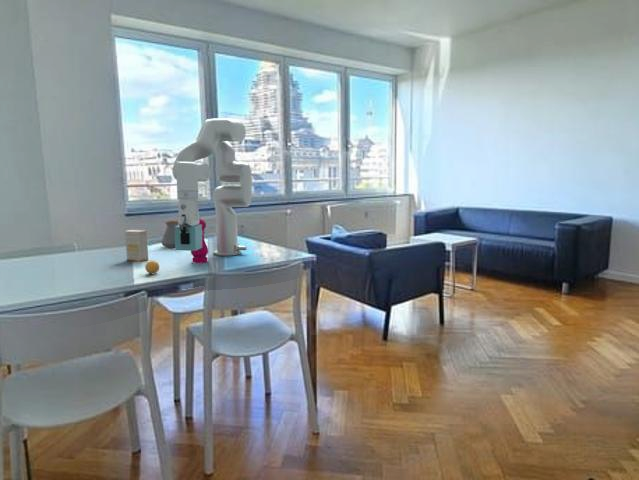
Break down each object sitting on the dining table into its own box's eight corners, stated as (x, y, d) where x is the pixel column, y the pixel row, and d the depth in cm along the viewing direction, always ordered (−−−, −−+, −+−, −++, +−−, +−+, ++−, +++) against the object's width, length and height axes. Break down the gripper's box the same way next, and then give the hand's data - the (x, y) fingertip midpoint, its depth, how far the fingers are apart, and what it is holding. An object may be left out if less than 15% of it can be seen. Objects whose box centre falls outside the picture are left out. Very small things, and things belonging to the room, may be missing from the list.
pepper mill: (211, 260, 201) (210, 214, 198) (202, 264, 195) (200, 216, 191) (197, 259, 204) (195, 214, 200) (187, 262, 197) (185, 215, 194)
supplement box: (149, 259, 202) (147, 230, 200) (140, 262, 198) (138, 231, 196) (135, 258, 206) (133, 229, 204) (126, 260, 201) (124, 230, 199)
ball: (161, 272, 179) (161, 259, 179) (156, 275, 174) (155, 262, 174) (149, 271, 180) (148, 259, 179) (143, 274, 175) (142, 261, 174)
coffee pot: (157, 246, 234) (156, 217, 232) (179, 244, 242) (178, 215, 239) (176, 253, 218) (174, 221, 216) (198, 250, 226) (197, 219, 223)
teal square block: (202, 247, 178) (201, 224, 176) (195, 250, 170) (195, 226, 169) (182, 247, 178) (182, 224, 177) (175, 250, 170) (174, 226, 169)
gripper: (189, 196, 162) (191, 246, 165) (204, 194, 180) (206, 239, 182) (168, 196, 163) (170, 245, 165) (186, 194, 180) (187, 239, 183)
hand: (189, 242), depth 174 cm, fingers closed on teal square block, 7 cm apart
